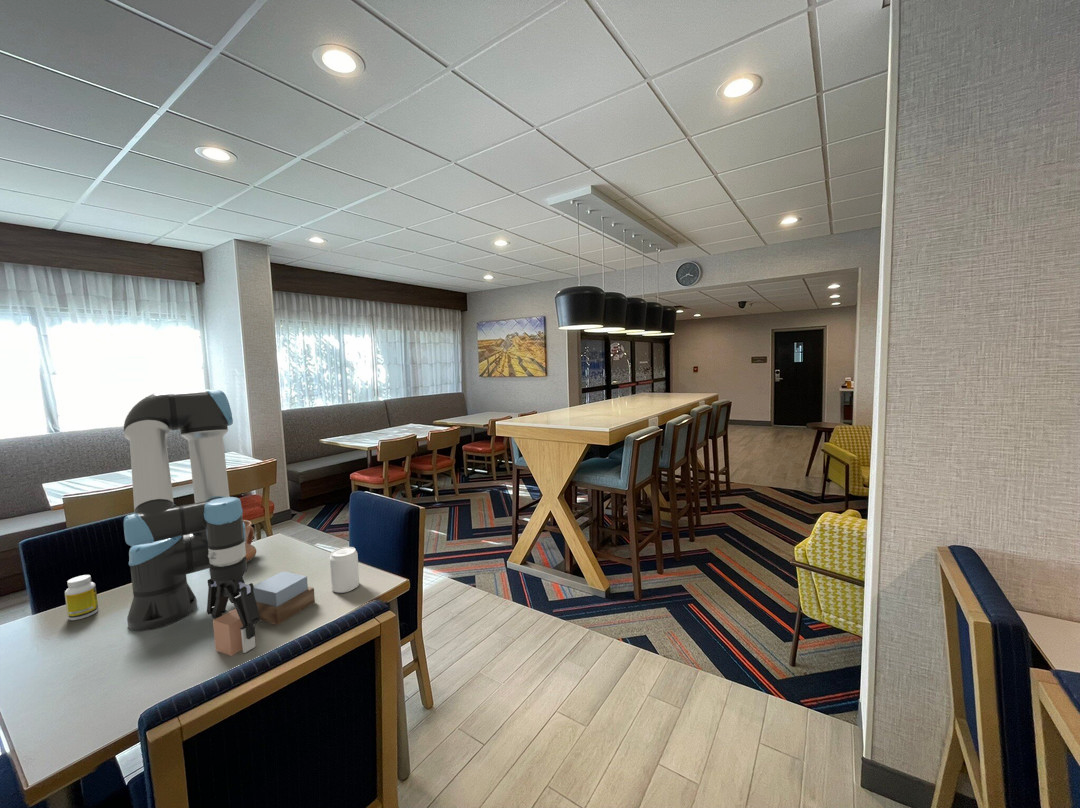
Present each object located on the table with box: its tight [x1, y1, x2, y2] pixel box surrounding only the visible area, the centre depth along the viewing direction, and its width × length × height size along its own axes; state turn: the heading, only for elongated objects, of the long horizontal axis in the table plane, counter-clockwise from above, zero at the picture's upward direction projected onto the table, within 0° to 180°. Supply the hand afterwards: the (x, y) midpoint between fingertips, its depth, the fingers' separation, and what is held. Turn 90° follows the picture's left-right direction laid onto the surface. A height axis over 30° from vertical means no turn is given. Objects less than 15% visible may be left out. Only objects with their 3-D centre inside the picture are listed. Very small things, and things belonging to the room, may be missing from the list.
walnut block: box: [256, 586, 316, 626], centre depth 128 cm, size 12×12×5 cm
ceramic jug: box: [243, 519, 257, 563], centre depth 158 cm, size 18×14×14 cm
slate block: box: [253, 570, 309, 607], centre depth 127 cm, size 10×10×4 cm
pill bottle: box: [64, 574, 99, 621], centre depth 126 cm, size 6×6×11 cm
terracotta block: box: [212, 608, 243, 657], centre depth 111 cm, size 6×6×8 cm
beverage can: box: [329, 546, 360, 594], centre depth 139 cm, size 8×8×12 cm
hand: (235, 644), depth 111 cm, fingers open, 9 cm apart
